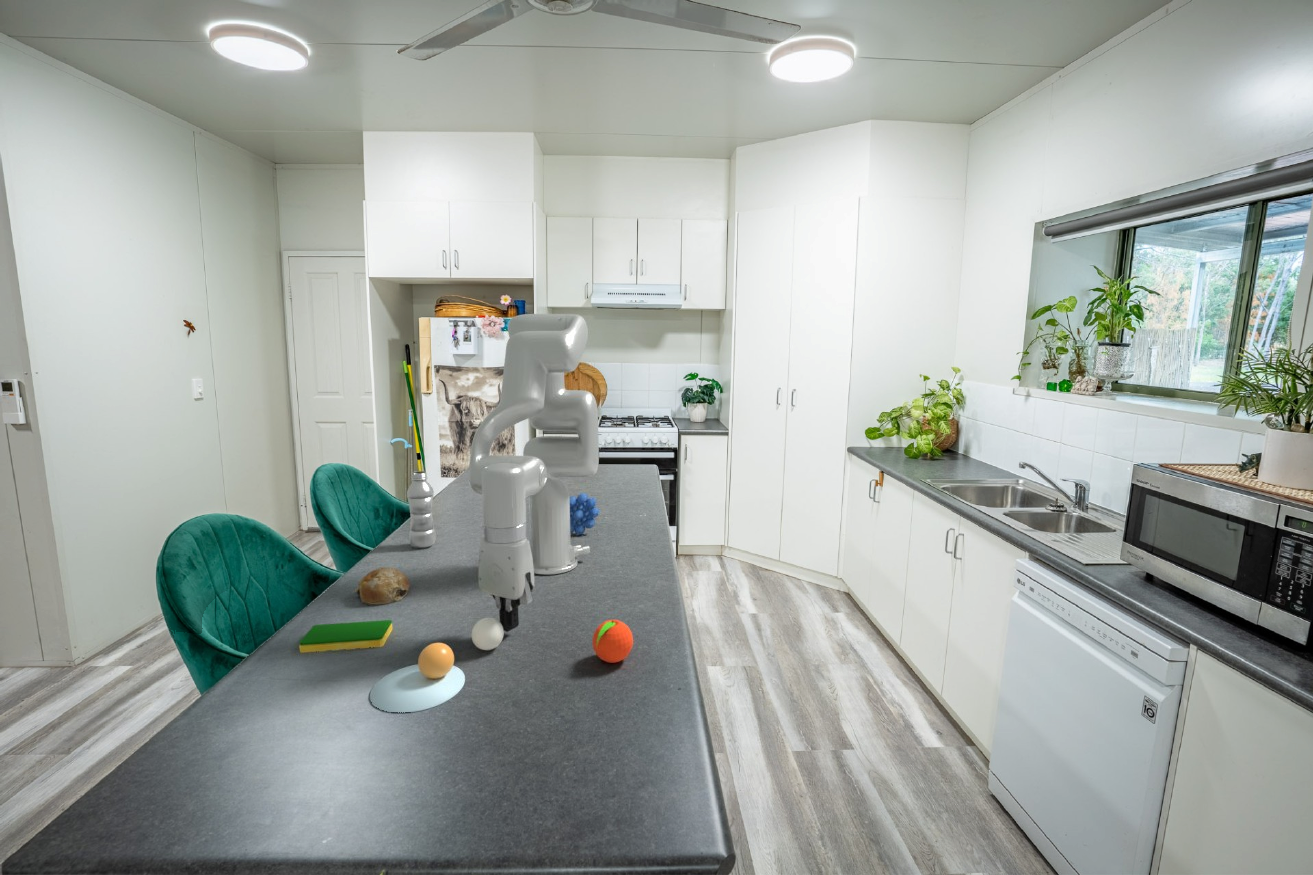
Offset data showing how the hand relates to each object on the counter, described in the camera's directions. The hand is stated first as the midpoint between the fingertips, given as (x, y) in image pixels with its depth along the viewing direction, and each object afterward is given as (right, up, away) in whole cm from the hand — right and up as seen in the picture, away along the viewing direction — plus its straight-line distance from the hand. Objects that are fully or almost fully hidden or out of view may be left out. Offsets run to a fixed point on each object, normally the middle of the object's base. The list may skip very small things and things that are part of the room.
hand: (509, 627), depth 114 cm
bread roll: (-31, +1, +18) cm, 36 cm away
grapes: (+5, +8, +60) cm, 61 cm away
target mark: (-10, -4, -17) cm, 20 cm away
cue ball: (-3, 0, -5) cm, 6 cm away
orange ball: (-9, -1, -14) cm, 16 cm away
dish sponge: (-29, -3, -1) cm, 29 cm away
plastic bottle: (-35, +6, +50) cm, 61 cm away
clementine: (+19, -3, -9) cm, 22 cm away
